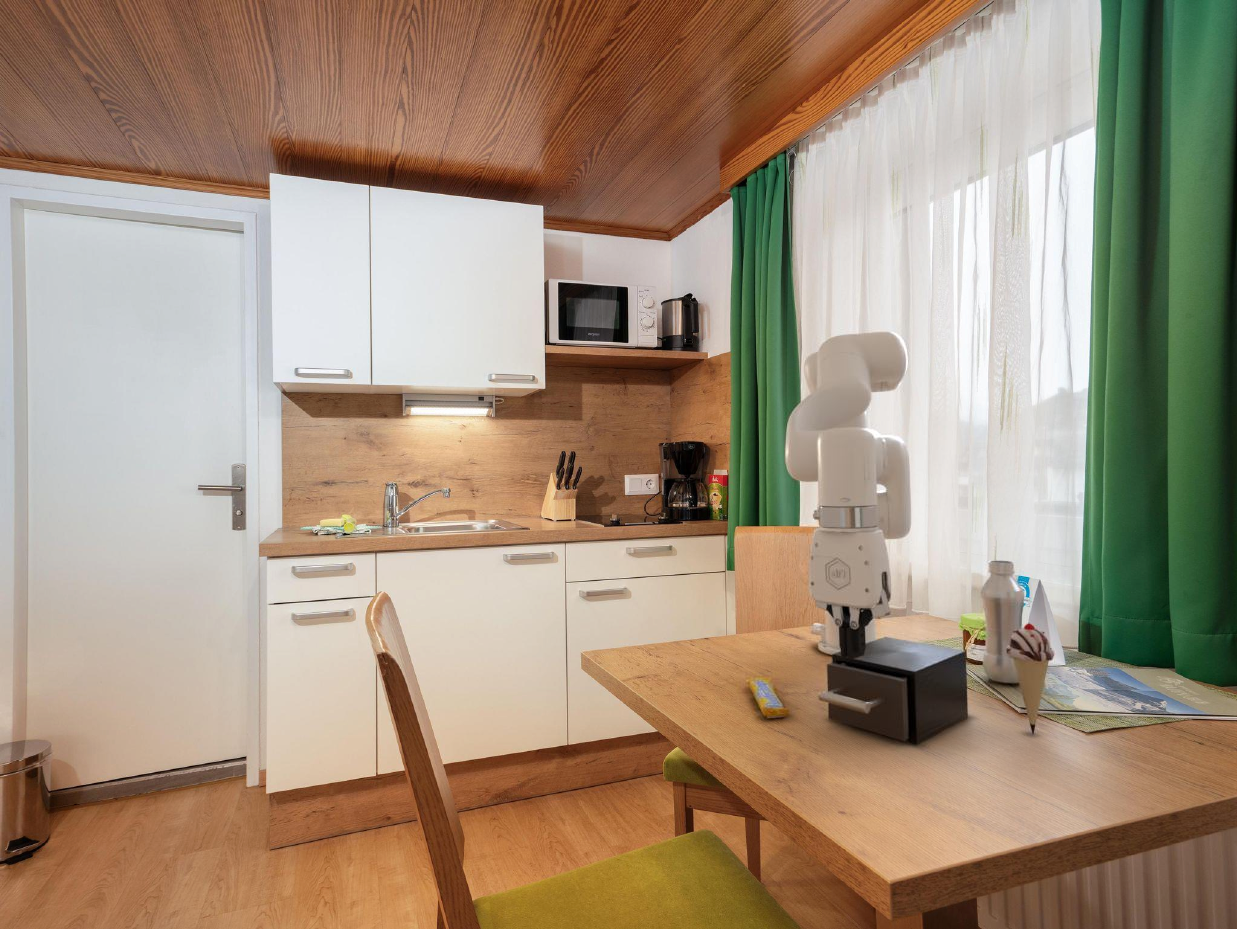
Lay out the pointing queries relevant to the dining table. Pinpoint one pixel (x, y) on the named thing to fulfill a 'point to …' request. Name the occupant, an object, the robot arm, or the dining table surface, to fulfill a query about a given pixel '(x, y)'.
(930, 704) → the small drawer cabinet
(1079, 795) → the dining table surface
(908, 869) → the dining table surface
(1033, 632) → the ice cream cone
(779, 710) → the candy bar
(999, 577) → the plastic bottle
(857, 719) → the pull-out drawer
